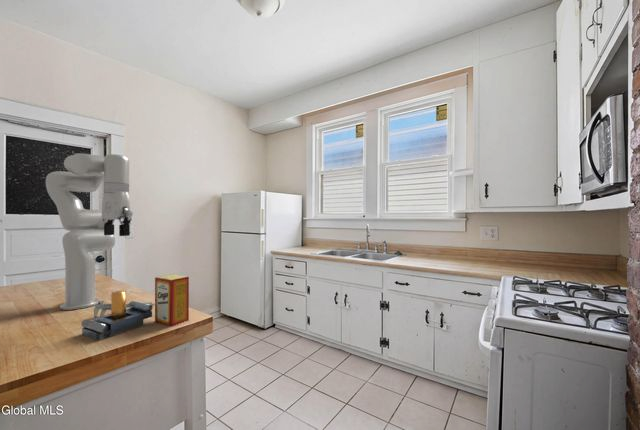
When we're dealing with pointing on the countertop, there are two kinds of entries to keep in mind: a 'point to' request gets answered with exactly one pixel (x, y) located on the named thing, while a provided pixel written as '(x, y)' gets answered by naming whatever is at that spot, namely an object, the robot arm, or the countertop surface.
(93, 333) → the grey bench vise
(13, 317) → the countertop surface
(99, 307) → the caliper
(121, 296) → the gold tall block
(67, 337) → the countertop surface
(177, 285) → the baking soda box
